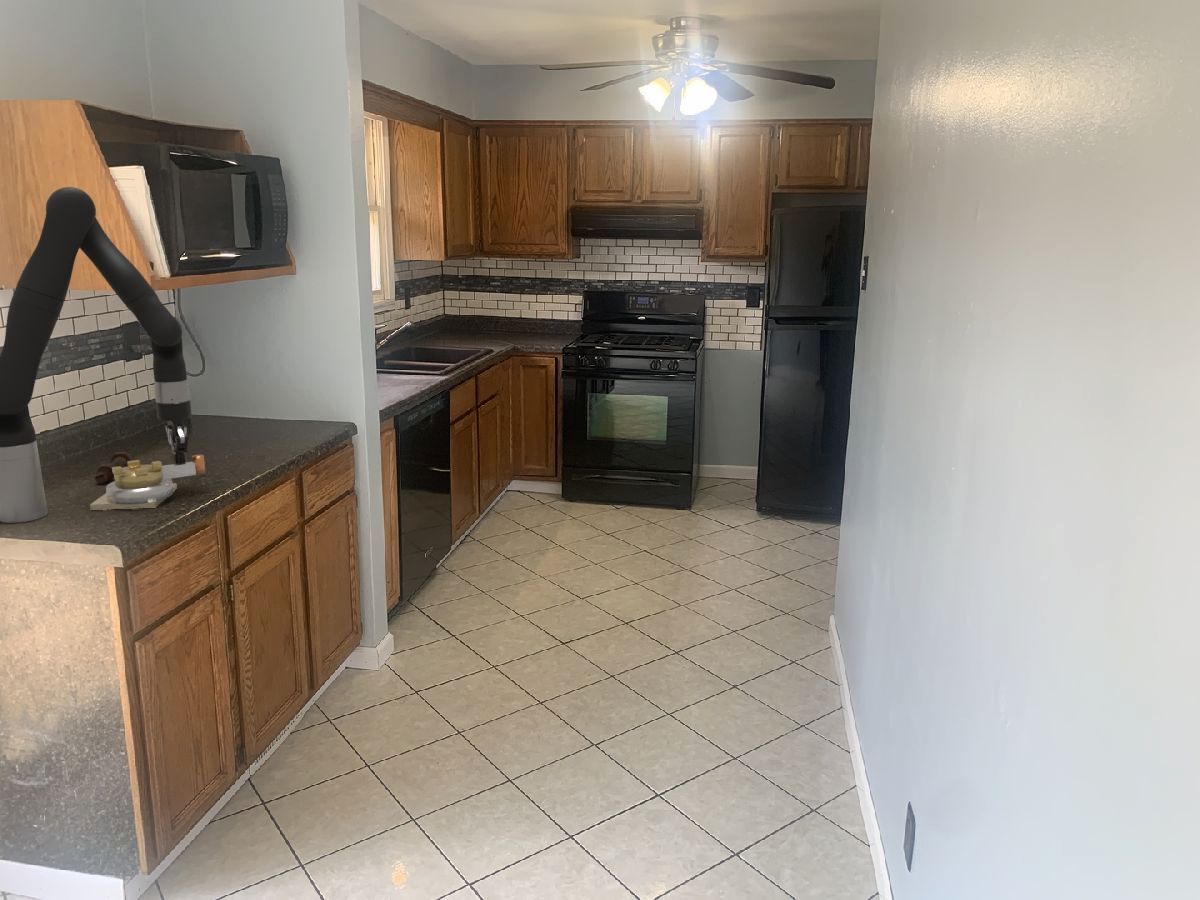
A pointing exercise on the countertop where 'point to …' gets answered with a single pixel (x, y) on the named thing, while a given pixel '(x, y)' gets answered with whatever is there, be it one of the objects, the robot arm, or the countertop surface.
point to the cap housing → (134, 496)
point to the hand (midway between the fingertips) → (180, 468)
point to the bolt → (116, 461)
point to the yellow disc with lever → (155, 472)
